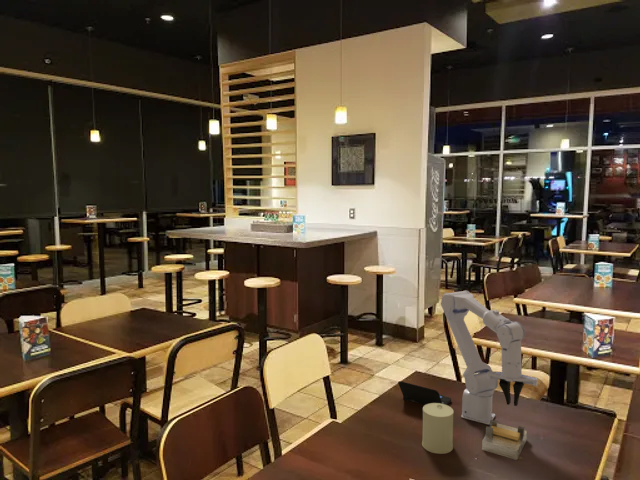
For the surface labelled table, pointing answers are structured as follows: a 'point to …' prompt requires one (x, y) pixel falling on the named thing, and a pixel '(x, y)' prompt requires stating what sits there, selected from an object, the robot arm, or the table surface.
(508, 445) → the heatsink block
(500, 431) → the golden yellow flat bar
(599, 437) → the table surface
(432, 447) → the can
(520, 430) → the lug
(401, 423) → the table surface
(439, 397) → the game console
